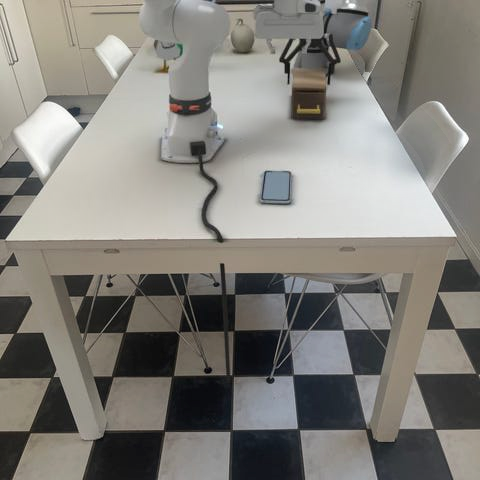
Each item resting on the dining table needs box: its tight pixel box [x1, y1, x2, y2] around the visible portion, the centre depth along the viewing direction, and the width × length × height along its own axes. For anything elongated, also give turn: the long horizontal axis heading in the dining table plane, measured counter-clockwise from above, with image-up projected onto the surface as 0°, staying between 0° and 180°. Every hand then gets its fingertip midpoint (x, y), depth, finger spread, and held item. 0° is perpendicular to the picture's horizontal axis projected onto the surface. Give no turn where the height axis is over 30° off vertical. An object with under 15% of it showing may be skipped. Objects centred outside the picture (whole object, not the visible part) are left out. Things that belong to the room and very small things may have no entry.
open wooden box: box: [290, 67, 328, 120], centre depth 172 cm, size 20×11×10 cm, turn 174°
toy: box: [153, 39, 183, 73], centre depth 204 cm, size 8×20×24 cm, turn 69°
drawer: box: [292, 90, 325, 120], centre depth 167 cm, size 24×10×8 cm, turn 174°
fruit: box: [230, 18, 256, 53], centre depth 228 cm, size 10×12×15 cm
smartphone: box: [259, 169, 293, 205], centre depth 129 cm, size 7×1×15 cm
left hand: (288, 53), depth 154 cm, fingers open, 8 cm apart
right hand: (308, 83), depth 175 cm, fingers open, 13 cm apart
